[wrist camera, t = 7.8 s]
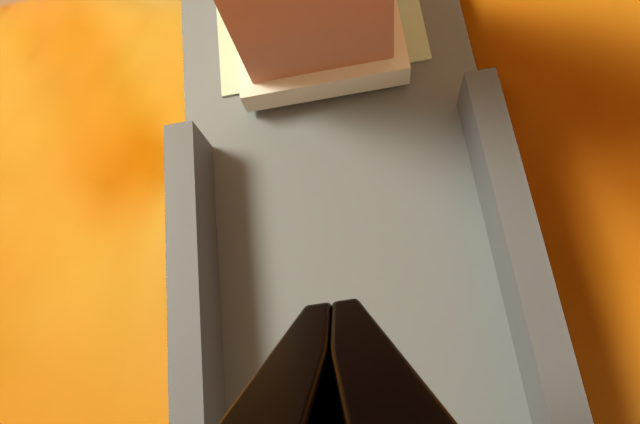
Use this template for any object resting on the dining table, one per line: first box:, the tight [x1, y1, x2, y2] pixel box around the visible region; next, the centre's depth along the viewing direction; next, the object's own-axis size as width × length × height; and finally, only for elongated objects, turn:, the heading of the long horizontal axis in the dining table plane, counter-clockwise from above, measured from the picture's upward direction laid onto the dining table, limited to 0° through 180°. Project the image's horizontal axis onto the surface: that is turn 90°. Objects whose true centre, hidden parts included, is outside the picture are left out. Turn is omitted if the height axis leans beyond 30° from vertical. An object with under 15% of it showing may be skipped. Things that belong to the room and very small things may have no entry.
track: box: [164, 0, 594, 424], centre depth 16 cm, size 30×11×3 cm, turn 7°
